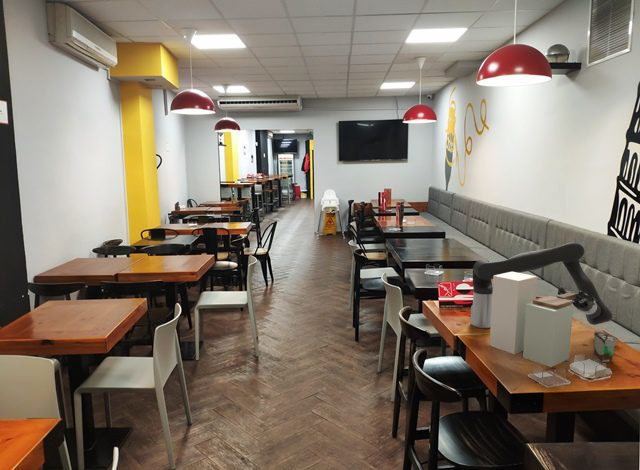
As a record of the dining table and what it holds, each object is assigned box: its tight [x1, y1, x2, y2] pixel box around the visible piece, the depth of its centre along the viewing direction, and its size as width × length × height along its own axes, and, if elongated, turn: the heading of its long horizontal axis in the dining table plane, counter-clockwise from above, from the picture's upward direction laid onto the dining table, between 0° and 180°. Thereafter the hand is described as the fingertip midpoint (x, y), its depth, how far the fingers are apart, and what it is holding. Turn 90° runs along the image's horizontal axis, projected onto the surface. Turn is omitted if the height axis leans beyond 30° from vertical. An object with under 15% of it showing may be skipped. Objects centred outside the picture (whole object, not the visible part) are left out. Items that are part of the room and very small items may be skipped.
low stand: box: [522, 302, 574, 368], centre depth 192 cm, size 12×14×23 cm
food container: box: [593, 330, 618, 365], centre depth 192 cm, size 12×6×10 cm, turn 168°
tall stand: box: [489, 272, 538, 355], centre depth 204 cm, size 12×14×32 cm
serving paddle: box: [533, 292, 576, 309], centre depth 194 cm, size 10×22×2 cm, turn 125°
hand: (569, 290), depth 199 cm, fingers open, 8 cm apart
